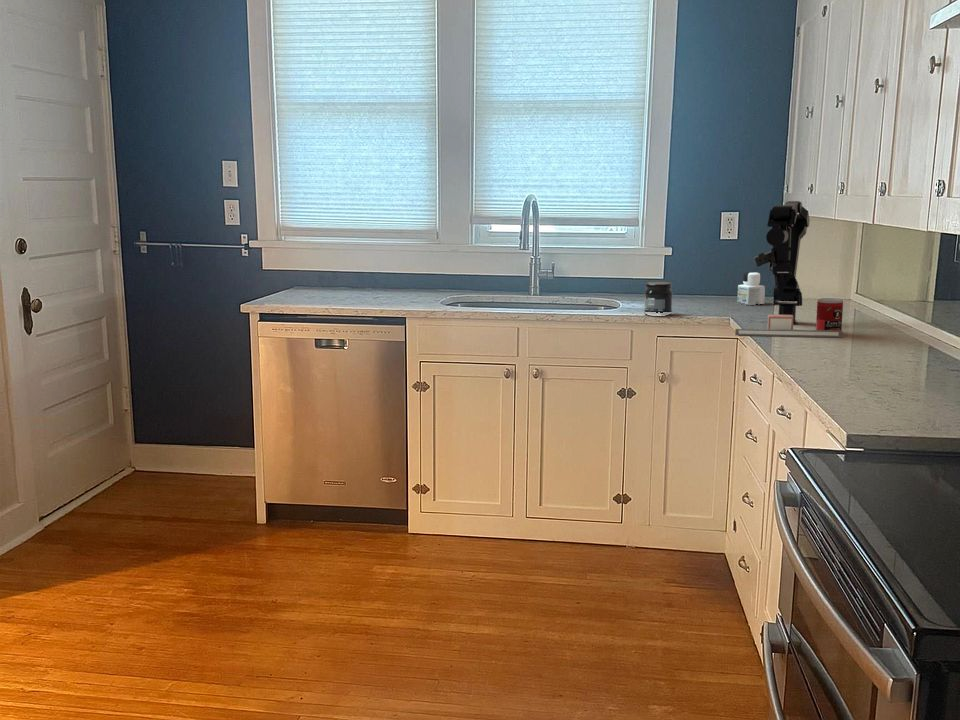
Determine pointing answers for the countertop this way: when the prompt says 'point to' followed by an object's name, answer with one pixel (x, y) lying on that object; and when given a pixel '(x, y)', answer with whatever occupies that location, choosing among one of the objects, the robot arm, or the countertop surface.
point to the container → (751, 289)
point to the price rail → (788, 333)
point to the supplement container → (658, 297)
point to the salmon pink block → (780, 322)
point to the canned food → (829, 314)
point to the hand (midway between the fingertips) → (779, 291)
